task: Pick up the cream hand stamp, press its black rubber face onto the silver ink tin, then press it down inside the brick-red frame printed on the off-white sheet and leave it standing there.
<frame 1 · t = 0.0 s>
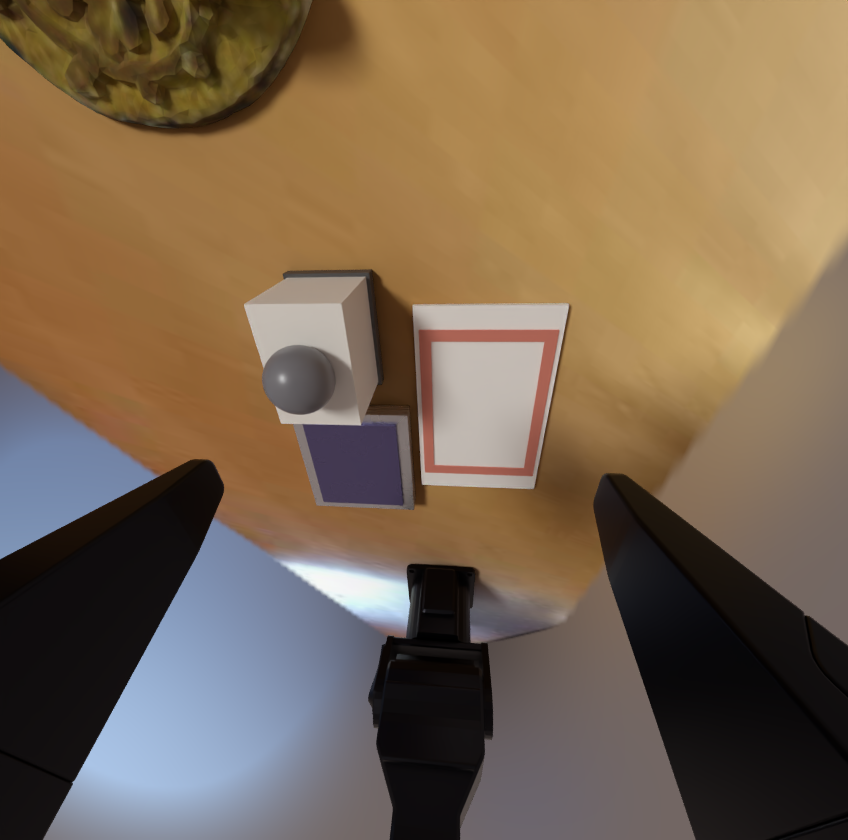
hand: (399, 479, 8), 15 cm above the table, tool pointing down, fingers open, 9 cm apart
sheet: (481, 408, 24), on the table
ink pad: (360, 454, 28), on the table
stamp: (339, 328, 22), on the table
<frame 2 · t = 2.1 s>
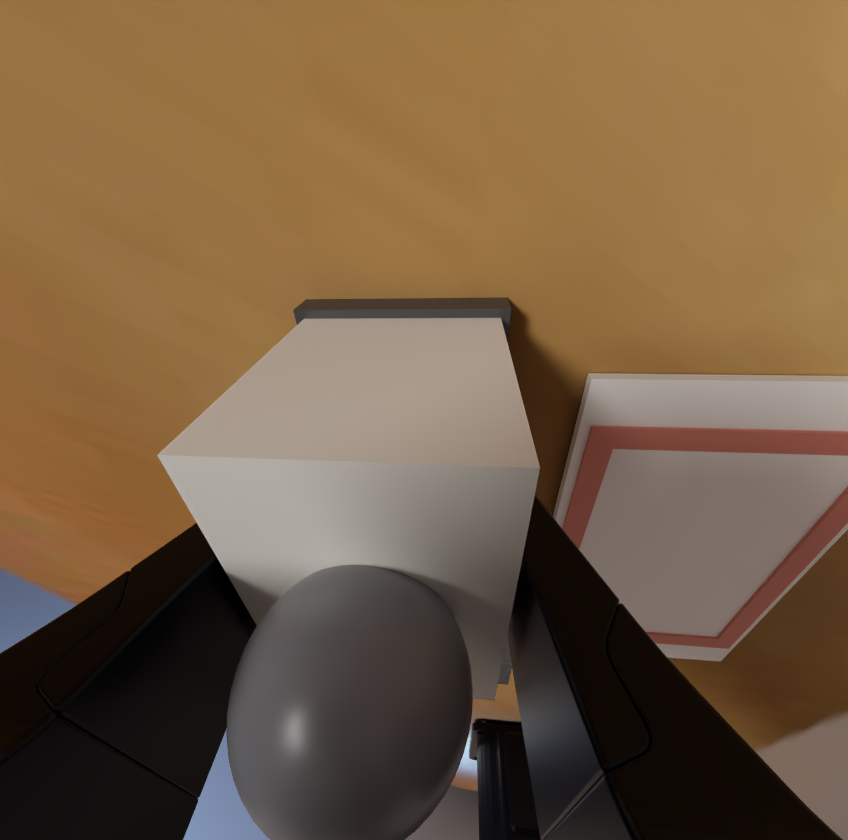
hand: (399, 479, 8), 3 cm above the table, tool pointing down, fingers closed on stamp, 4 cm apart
sheet: (670, 553, 13), on the table
ink pad: (423, 603, 16), on the table
stamp: (411, 417, 10), on the table, touching gripper
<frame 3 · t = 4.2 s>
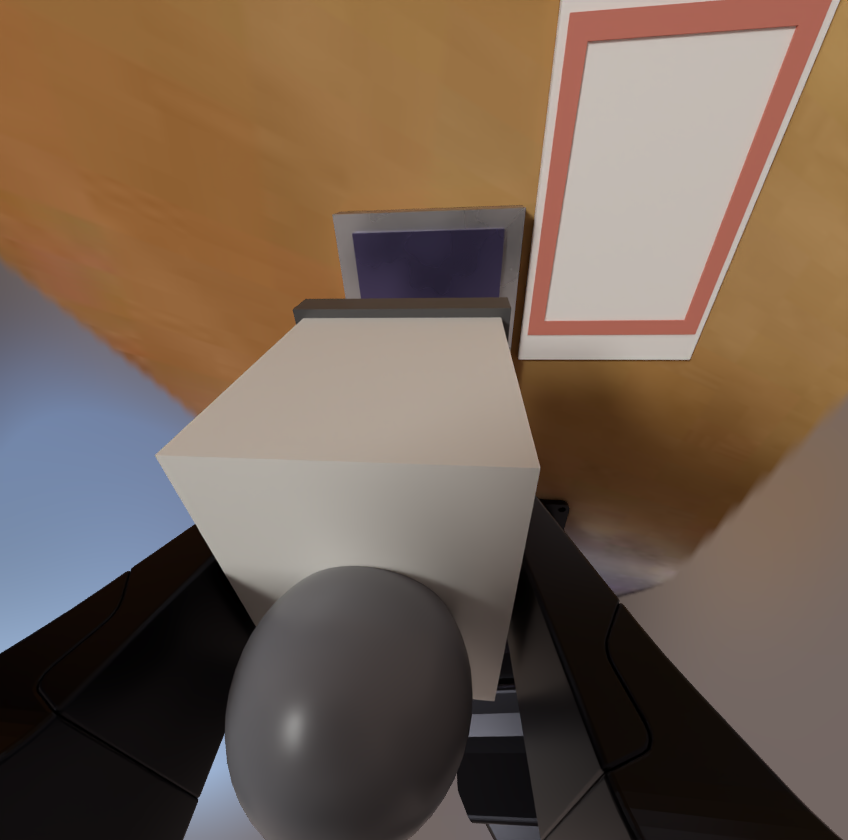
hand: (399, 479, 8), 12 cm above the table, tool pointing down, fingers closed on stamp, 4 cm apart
sheet: (640, 203, 15), on the table
ink pad: (431, 310, 18), on the table
stamp: (411, 417, 10), point 10 cm above the table, touching gripper
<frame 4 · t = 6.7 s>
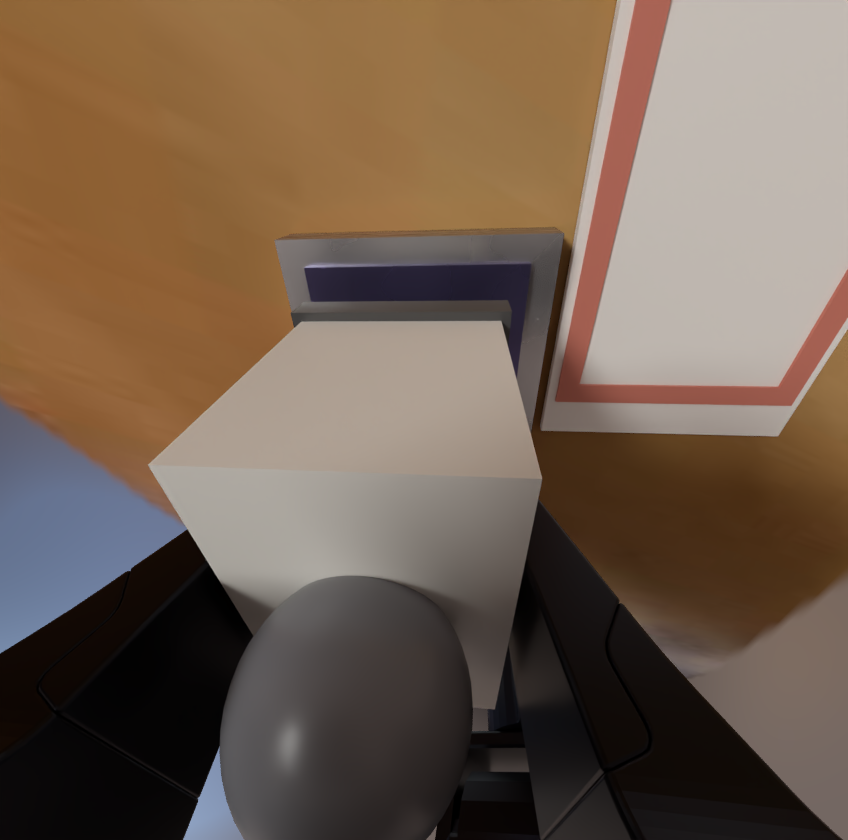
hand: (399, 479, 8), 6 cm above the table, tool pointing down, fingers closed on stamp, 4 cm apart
sheet: (733, 226, 10), on the table
ink pad: (423, 366, 13), on the table
stamp: (411, 421, 10), point 4 cm above the table, touching gripper
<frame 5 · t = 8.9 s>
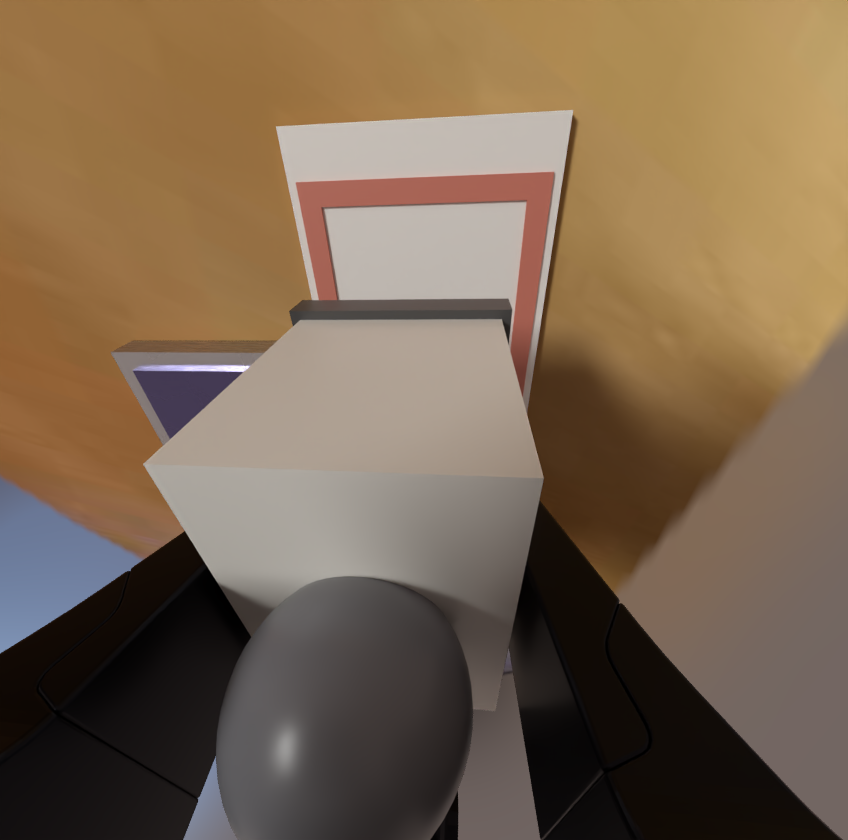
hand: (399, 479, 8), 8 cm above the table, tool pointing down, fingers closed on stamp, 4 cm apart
sheet: (427, 343, 15), on the table
ink pad: (251, 426, 18), on the table
stamp: (410, 420, 10), point 5 cm above the table, touching gripper
when the fingers open (4 cm above the table, at t = 11.2 s): stamp stays where it is, resting on sheet.
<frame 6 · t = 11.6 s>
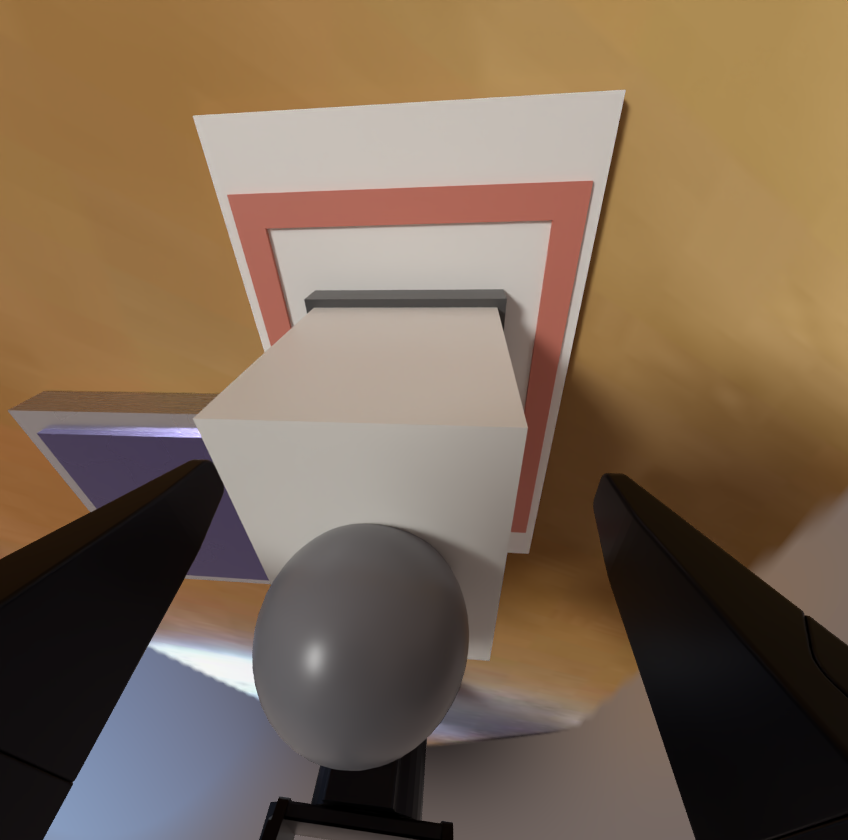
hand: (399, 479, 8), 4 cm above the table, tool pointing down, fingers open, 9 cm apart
sheet: (415, 399, 11), on the table
ink pad: (202, 489, 15), on the table
stamp: (413, 404, 11), resting on sheet
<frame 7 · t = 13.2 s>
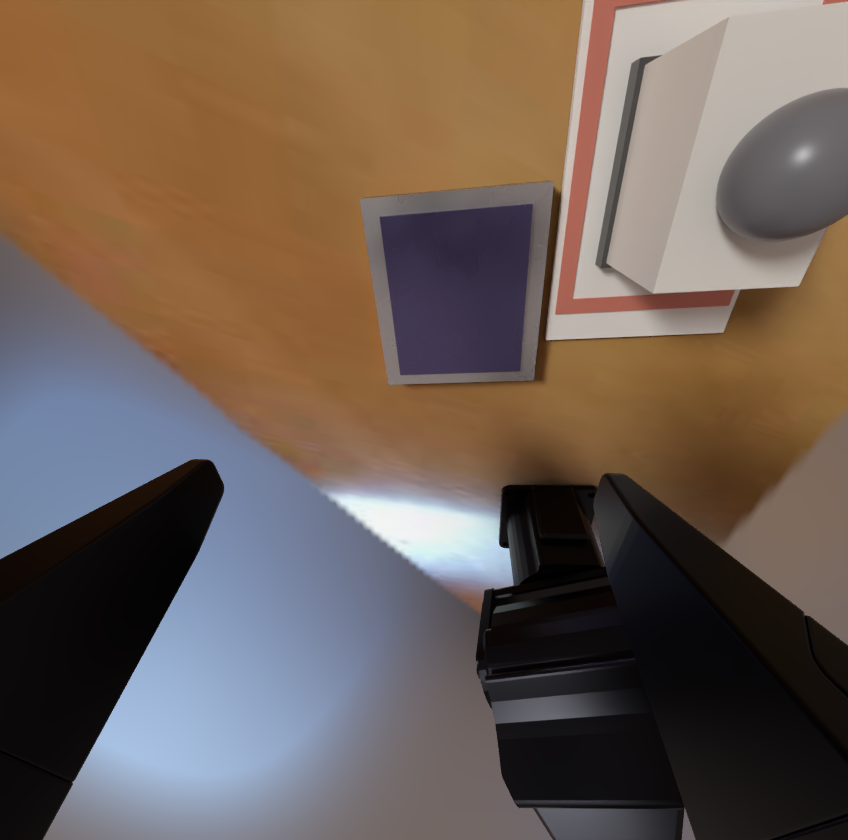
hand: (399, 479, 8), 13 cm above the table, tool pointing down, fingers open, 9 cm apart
sheet: (670, 172, 15), on the table
ink pad: (457, 293, 18), on the table
stamp: (673, 171, 15), resting on sheet
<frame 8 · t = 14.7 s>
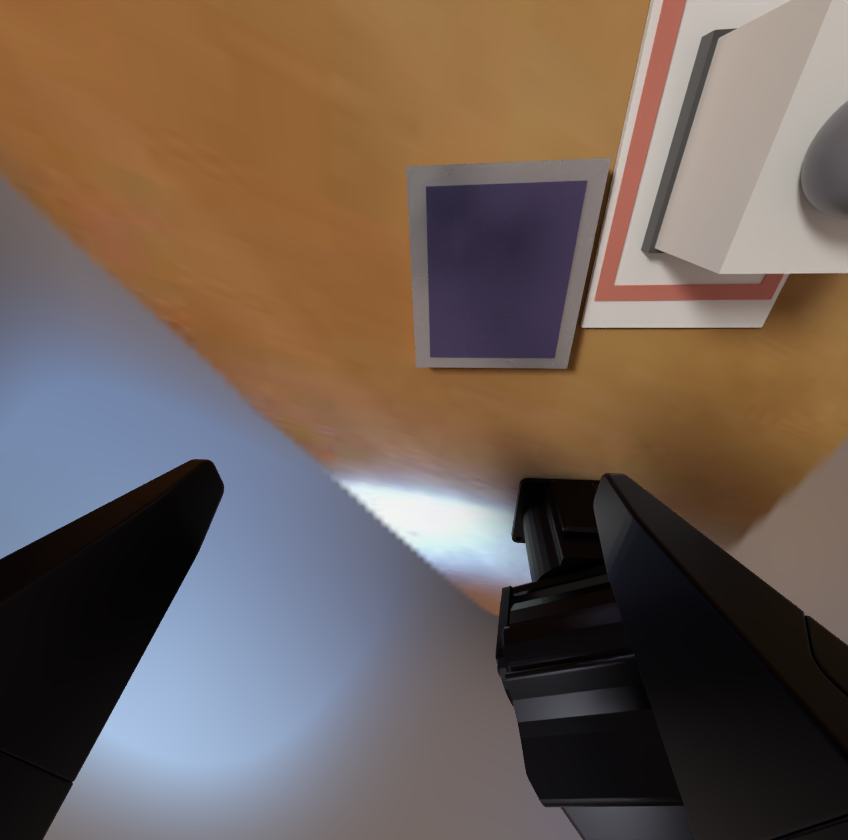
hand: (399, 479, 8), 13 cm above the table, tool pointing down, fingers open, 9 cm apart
sheet: (727, 156, 15), on the table
ink pad: (495, 274, 18), on the table
stamp: (731, 155, 14), resting on sheet
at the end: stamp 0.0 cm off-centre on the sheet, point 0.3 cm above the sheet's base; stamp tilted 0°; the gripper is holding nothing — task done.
